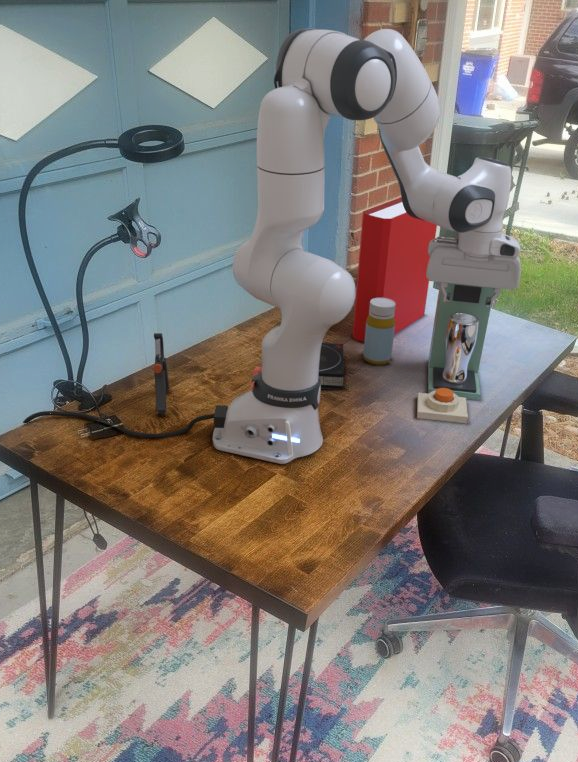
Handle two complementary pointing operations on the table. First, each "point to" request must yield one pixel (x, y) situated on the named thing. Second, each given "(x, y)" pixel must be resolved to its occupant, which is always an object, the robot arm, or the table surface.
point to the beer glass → (459, 346)
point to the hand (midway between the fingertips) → (467, 303)
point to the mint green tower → (460, 302)
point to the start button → (444, 395)
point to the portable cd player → (331, 366)
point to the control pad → (441, 408)
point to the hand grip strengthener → (160, 375)
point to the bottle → (379, 331)
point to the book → (392, 264)
